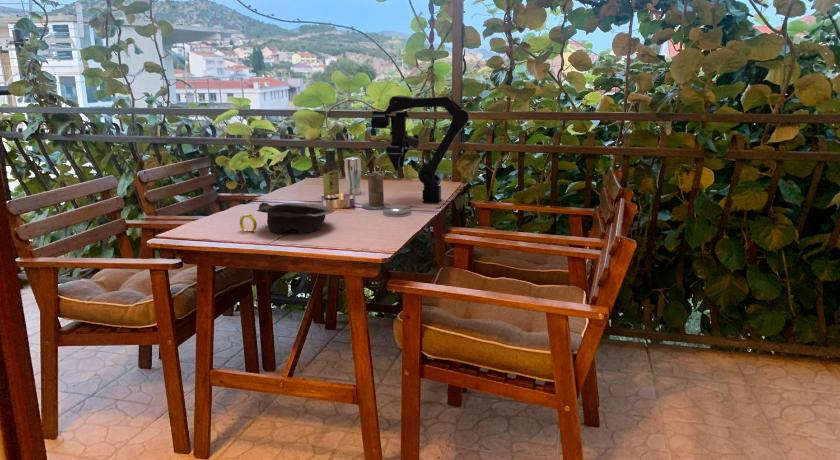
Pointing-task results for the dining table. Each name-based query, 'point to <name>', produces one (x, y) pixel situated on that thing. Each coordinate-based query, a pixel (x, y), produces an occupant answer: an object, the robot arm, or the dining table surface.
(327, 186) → the sauce bottle
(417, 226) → the dining table surface
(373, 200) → the pepper mill
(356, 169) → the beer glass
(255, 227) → the watch
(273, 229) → the stone bowl
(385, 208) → the round metal lid
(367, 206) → the coaster
